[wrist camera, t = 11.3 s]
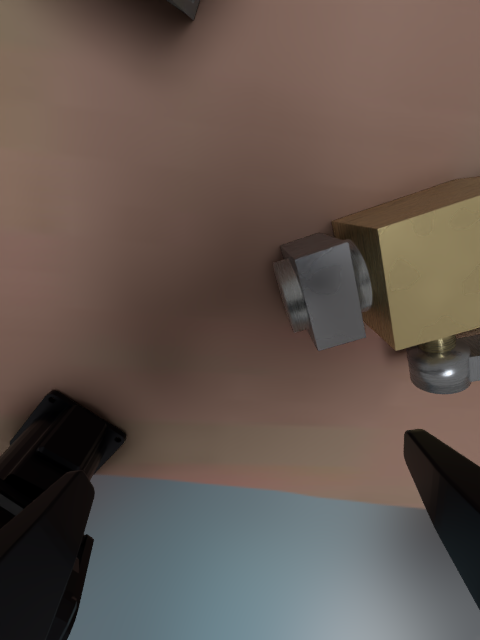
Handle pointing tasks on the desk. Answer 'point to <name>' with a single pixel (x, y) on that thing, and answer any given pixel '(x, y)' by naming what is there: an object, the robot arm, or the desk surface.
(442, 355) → the lever
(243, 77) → the desk surface
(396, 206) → the valve
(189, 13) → the electrical switch
